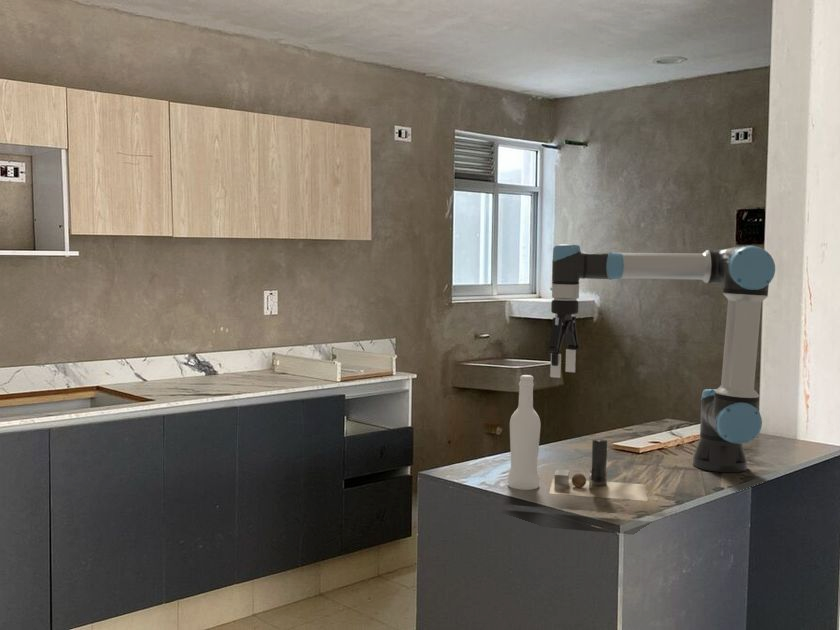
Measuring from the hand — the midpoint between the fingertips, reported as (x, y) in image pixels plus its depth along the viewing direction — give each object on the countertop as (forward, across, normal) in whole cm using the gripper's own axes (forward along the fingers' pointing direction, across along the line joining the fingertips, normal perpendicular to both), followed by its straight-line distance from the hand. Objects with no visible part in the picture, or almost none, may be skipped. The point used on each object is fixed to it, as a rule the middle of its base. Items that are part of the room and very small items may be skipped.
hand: (563, 374), depth 241 cm
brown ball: (+26, +19, +11) cm, 34 cm away
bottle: (+28, +25, -2) cm, 37 cm away
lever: (+26, +19, +16) cm, 36 cm away
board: (+28, +18, +16) cm, 36 cm away
